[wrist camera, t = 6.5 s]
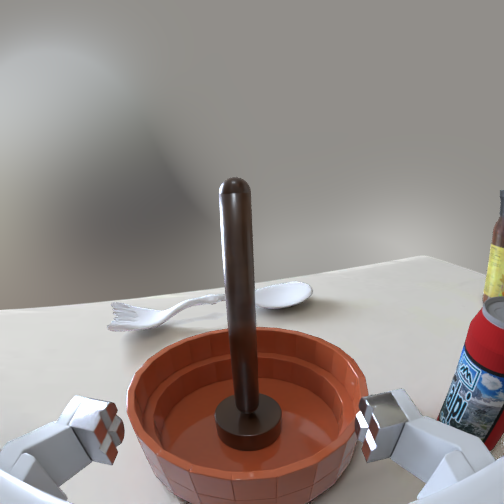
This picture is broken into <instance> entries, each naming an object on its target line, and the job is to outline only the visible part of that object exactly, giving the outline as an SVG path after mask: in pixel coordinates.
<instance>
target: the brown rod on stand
mask: <svg viewBox="0 0 504 504" xmlns="http://www.w3.org/2000/svg"><path fill="white" fill-rule="evenodd" d="M219 202H220V219H221V238H222V253H223V268H224V280H225V281H224V282H225V296H226V309H227V321H228V333H229V344H230V356H231V366H232V377H233V387H234V395H231V396H229V397H227V398H225V399H224V400H223V401H221V402H220V403H219V404H218V406H217V408H216V410H215V414H214V417H215V423H216V428H217V433H218V436H219V438H220V439H221V441H222V442H223V443H224V444H226V445H227V446H229V447H231V448H233V449H236V450H241V451H256V450H260V449H263V448H266V447H268V446H269V445H271V444H272V443H274V442H275V441H276V440H277V438H278V437H279V435H280V433H281V423H282V411H281V407H280V406H279V404H278V403H277V402H276V401H275V400H274V399H273V398H271V397H269V396H267V395H264V394H261V393H259V384H258V358H257V333H256V308H255V283H254V259H253V238H252V237H253V234H252V210H251V191H250V187H249V185H248V184H247V182H246V181H244V180H243V179H241V178H238V177H233V178H229V179H227V180H225V181H224V182H223V183H222V185H221V187H220V190H219Z"/></svg>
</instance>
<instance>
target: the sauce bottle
mask: <svg viewBox="0 0 504 504" xmlns="http://www.w3.org/2000/svg"><path fill="white" fill-rule="evenodd" d="M500 199H501V207H500V217H499V219H498V221H497V222H496V224H495V226H494V229H493V237H492V243H491V249H490V256H489V263H488V270H487V275H486V281H485V286H484V295H483V302H485V301H486V300H487V299H489V298H492V297H498V296H504V190H500Z"/></svg>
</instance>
